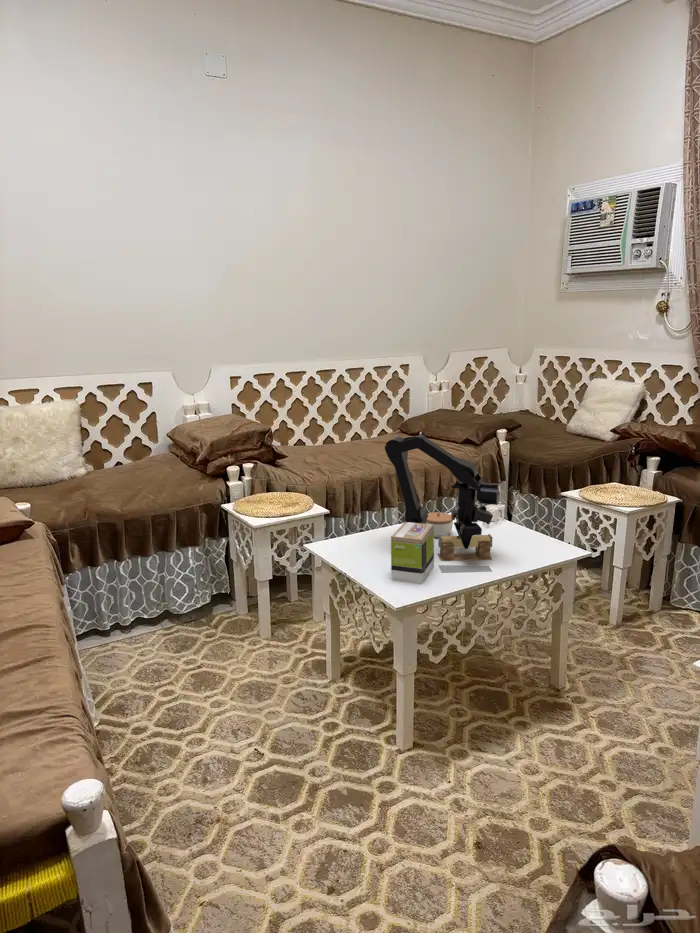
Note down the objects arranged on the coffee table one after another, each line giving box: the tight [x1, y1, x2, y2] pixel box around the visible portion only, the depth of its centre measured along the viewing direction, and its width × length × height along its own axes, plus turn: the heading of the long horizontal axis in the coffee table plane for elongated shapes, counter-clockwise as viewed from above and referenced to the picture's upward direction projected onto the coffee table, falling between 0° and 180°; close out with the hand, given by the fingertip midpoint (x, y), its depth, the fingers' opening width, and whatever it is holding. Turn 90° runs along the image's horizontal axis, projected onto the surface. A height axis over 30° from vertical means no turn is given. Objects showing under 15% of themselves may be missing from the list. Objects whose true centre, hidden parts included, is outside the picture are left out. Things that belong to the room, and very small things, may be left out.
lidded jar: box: [426, 511, 454, 539], centre depth 236 cm, size 11×11×9 cm
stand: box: [437, 543, 493, 562], centre depth 215 cm, size 17×6×6 cm, turn 93°
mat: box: [438, 564, 493, 574], centre depth 207 cm, size 16×7×1 cm, turn 93°
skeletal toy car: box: [472, 504, 506, 529], centre depth 247 cm, size 20×11×7 cm, turn 111°
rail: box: [437, 533, 493, 550], centre depth 214 cm, size 17×3×3 cm, turn 93°
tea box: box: [390, 521, 435, 585], centre depth 202 cm, size 15×10×15 cm
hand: (465, 547), depth 215 cm, fingers closed on rail, 3 cm apart
